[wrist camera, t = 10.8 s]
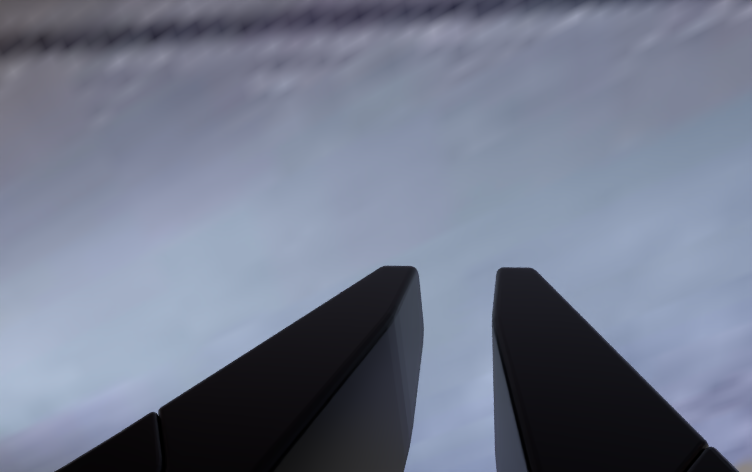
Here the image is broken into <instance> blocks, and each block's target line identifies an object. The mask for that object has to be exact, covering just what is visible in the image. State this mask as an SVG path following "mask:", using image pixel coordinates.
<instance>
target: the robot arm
mask: <svg viewBox="0 0 752 472" xmlns="http://www.w3.org/2000/svg"><path fill="white" fill-rule="evenodd" d="M423 336H424V324H423V312H422V302H421V292H420V282H419V274H418V271H417V269H416V268H415V267H412V266H383V267H380V268H379V269H377V270H376V271H374V272H372V273H371V274H369V275H368V276H366V277H365V278H363V279H361V280H360V281H358V282H357V283H355V284H354V285H352V286H351V287H349V288H347V289H346V290H344V291H343V292H341V293H340V294H338V295H336V296H335V297H333V298H332V299H330V300H329V301H327V302H325V303H324V304H322V305H321V306H319V307H318V308H316V309H314V310H313V311H311V312H310V313H308V314H307V315H305V316H304V317H302V318H300V319H299V320H297V321H296V322H294V323H293V324H291V325H289V326H288V327H286V328H285V329H283V330H282V331H280V332H278V333H277V334H275V335H274V336H272V337H271V338H269V339H267V340H266V341H264V342H263V343H261V344H260V345H258V346H257V347H255V348H253V349H252V350H250V351H249V352H247V353H246V354H244V355H242V356H241V357H239V358H238V359H236V360H235V361H233V362H231V363H230V364H228V365H227V366H225V367H224V368H222V369H220V370H219V371H217V372H216V373H214V374H213V375H211V376H209V377H208V378H206V379H205V380H203V381H202V382H200V383H198V384H197V385H195V386H194V387H192V388H191V389H189V390H187V391H186V392H184V393H183V394H181V395H180V396H178V397H176V398H175V399H173V400H172V401H170V402H169V403H167V404H165V405H164V406H162V407H161V408H160V409H159V411H158V414H157V413H155V412H151V413H149V414H147V415H146V416H144V417H143V418H141V419H140V420H138V421H136V422H135V423H133V424H132V425H130V426H129V427H127V428H125V429H124V430H122V431H121V432H119V433H118V434H116V435H114V436H113V437H111V438H109V439H108V440H106V441H104V442H103V443H101V444H100V445H98V446H96V447H95V448H93V449H91V450H90V451H88V452H86V453H85V454H83V455H81V456H80V457H78V458H77V459H75V460H73V461H72V462H70V463H68V464H67V465H65V466H63V467H62V468H60V469H58V470H57V471H55V472H404V468H405V465H406V460H407V456H408V452H409V447H410V442H411V436H412V429H413V422H414V414H415V406H416V397H417V389H418V381H419V373H420V364H421V356H422V348H423ZM492 343H493V386H494V430H495V457H496V469H497V472H739V471H738V470H737V469H736V468H735V467H734V466H733V465H732V464H731V463H730V462H729V461H728V460H727V459H726V458H725V457H724V456H723V455H722V454H721V453H720V452H719V451H718V450H717V449H715V448H714V447H709V446H708V443H707V441H706V440H705V439H704V438H703V437H702V436H701V435H700V434H699V433H698V432H697V431H696V430H695V429H694V428H693V427H692V426H691V425H690V424H689V423H688V422H687V421H686V420H685V419H684V418H683V417H682V416H681V415H680V414H679V413H678V412H677V411H676V410H675V409H674V408H673V407H672V406H671V405H670V404H669V403H668V402H667V401H666V400H665V399H664V398H663V397H662V396H661V395H660V394H659V393H658V392H657V391H656V390H655V389H654V388H653V387H652V386H651V385H650V384H649V383H648V382H647V381H646V380H645V379H644V378H643V377H642V376H641V375H640V374H639V373H638V372H637V371H636V370H635V369H634V368H633V367H632V366H631V365H630V364H629V363H628V362H627V361H626V360H625V359H624V358H623V357H622V356H621V355H620V354H619V353H618V352H617V351H616V350H615V349H614V348H613V347H612V346H611V345H610V344H609V343H608V342H607V341H606V340H605V339H604V338H603V337H602V336H601V335H600V334H599V333H598V332H597V331H596V330H595V329H594V328H593V327H592V326H591V325H590V324H589V323H588V322H587V321H586V320H585V319H584V318H583V317H582V316H581V315H580V314H579V313H578V312H577V311H576V310H575V309H574V308H573V307H572V306H571V305H570V304H569V303H568V302H567V301H566V300H565V299H564V298H563V297H562V296H561V295H560V294H559V293H558V292H557V291H556V290H555V289H554V288H553V287H552V286H551V285H550V284H549V283H548V282H547V281H546V280H545V279H544V278H543V277H542V276H541V275H540V274H539V273H538V272H537V271H536V270H534V269H532V268H512V267H503V268H500V269H498V271H497V274H496V282H495V292H494V302H493V311H492ZM158 415H159V416H158Z"/></svg>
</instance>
